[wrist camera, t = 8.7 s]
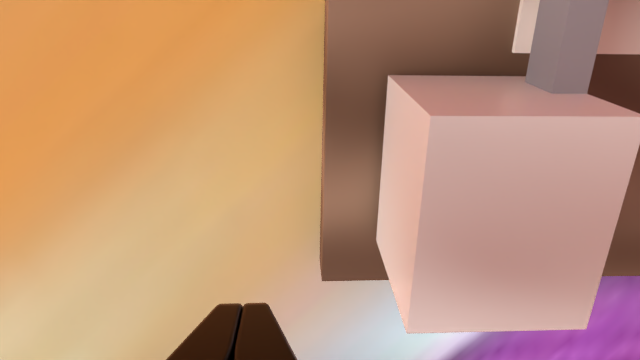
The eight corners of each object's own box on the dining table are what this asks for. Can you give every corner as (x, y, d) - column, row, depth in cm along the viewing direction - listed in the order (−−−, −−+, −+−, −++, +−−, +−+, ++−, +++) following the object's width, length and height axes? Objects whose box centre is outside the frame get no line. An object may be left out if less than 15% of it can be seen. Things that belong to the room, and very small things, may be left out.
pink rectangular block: (509, 238, 18) (585, 328, 13) (376, 240, 17) (406, 333, 13) (567, -62, 14) (705, -84, 9) (398, -66, 14) (453, -92, 9)
